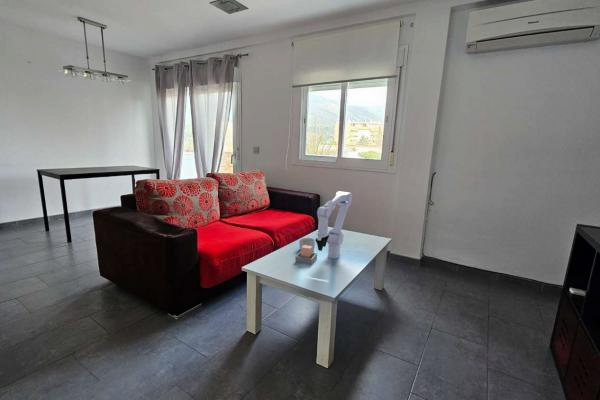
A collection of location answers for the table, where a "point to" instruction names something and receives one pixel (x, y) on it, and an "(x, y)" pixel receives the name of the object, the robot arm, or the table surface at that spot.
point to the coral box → (306, 250)
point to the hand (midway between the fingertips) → (321, 248)
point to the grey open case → (307, 242)
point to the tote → (306, 259)
